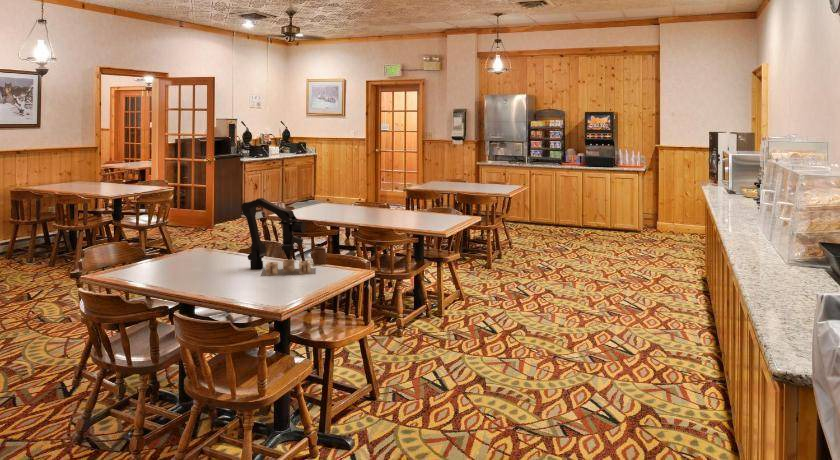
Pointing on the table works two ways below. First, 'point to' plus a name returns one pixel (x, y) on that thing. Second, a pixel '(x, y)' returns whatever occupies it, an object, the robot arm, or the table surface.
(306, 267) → the marked block right
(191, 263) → the table surface
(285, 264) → the plain block
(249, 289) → the table surface
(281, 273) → the mat
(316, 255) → the mug
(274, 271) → the marked block left
